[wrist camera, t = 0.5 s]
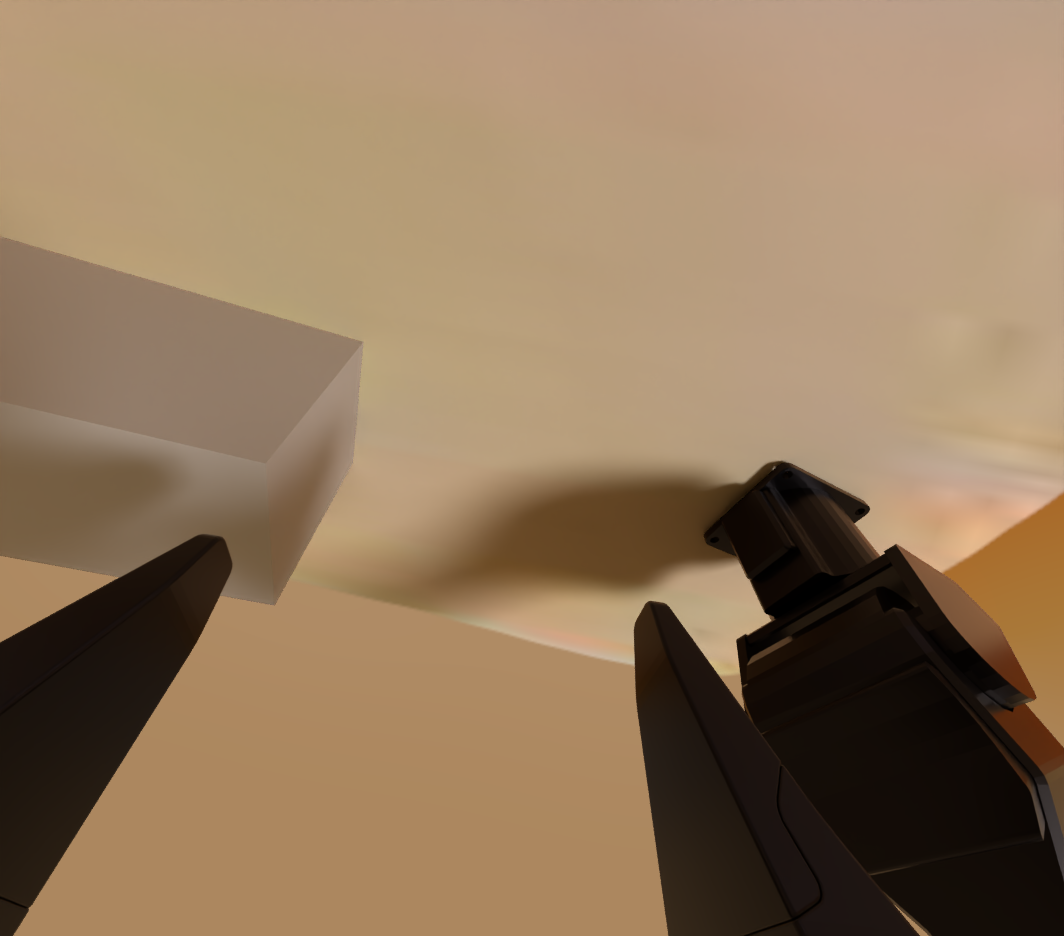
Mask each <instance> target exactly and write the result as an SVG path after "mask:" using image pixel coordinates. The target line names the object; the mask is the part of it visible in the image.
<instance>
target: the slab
mask: <svg viewBox="0 0 1064 936" xmlns="http://www.w3.org/2000/svg"><path fill="white" fill-rule="evenodd" d="M362 353H363V342H362V341H358V340H355V339H351V338H348V337H344V336H341V335H337V334H334V333H331V332H327V331H324V330H320V329H317V328H313V327H310V326H306V325H303V324H300V323H296V322H293V321H289V320H286V319H282V318H279V317H275V316H272V315H269V314H265V313H262V312H258V311H255V310H251V309H248V308H244V307H241V306H238V305H234V304H231V303H227V302H224V301H220V300H217V299H213V298H210V297H207V296H203V295H200V294H196V293H193V292H189V291H186V290H182V289H179V288H176V287H172V286H169V285H165V284H162V283H158V282H155V281H151V280H148V279H144V278H141V277H138V276H134V275H131V274H127V273H124V272H120V271H117V270H113V269H110V268H107V267H103V266H100V265H96V264H93V263H89V262H86V261H82V260H79V259H76V258H72V257H69V256H65V255H62V254H58V253H55V252H51V251H48V250H45V249H41V248H38V247H34V246H31V245H27V244H24V243H20V242H17V241H14V240H10V239H7V238H3V237H0V556H5V557H10V558H16V559H21V560H27V561H33V562H38V563H44V564H49V565H55V566H60V567H66V568H71V569H77V570H82V571H88V572H93V573H99V574H105V575H110V576H115V577H121V576H123V575H125V574H127V573H129V572H130V571H132V570H134V569H136V568H138V567H140V566H141V565H143V564H145V563H147V562H149V561H151V560H152V559H154V558H156V557H158V556H160V555H162V554H163V553H165V552H167V551H169V550H171V549H173V548H174V547H176V546H178V545H180V544H182V543H184V542H185V541H187V540H189V539H191V538H193V537H195V536H197V535H199V534H210V535H217V536H221V537H223V538H224V539H225V541H226V543H227V547H228V550H229V553H230V556H231V559H232V563H233V566H232V571H231V574H230V576H229V578H228V580H227V582H226V584H225V586H224V588H223V590H222V592H221V594H220V596H226V597H231V598H237V599H242V600H248V601H254V602H259V603H265V604H270V605H275V604H276V602H277V600H278V598H279V597H280V595H281V593H282V591H283V589H284V587H285V586H286V584H287V582H288V580H289V578H290V576H291V575H292V573H293V571H294V569H295V567H296V566H297V564H298V562H299V560H300V558H301V556H302V555H303V553H304V551H305V549H306V547H307V545H308V544H309V542H310V540H311V538H312V536H313V535H314V533H315V531H316V529H317V527H318V525H319V524H320V522H321V520H322V518H323V516H324V514H325V513H326V511H327V509H328V507H329V505H330V503H331V502H332V500H333V498H334V496H335V494H336V493H337V491H338V489H339V487H340V485H341V483H342V482H343V480H344V478H345V476H346V474H347V472H348V471H349V469H350V467H351V465H352V463H353V455H354V443H355V432H356V421H357V409H358V398H359V387H360V376H361V364H362Z"/></svg>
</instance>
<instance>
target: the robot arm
mask: <svg viewBox="0 0 1064 936" xmlns="http://www.w3.org/2000/svg"><path fill="white" fill-rule="evenodd" d="M787 471H788V472H787ZM785 472H787V473H785ZM784 473H785V474H784ZM869 511H870V507H869V506H868V505H867V504H866V503H865V502H864V501H863V500H861V499H859V498H857V497H855V496H853V495H851V494H849V493H848V492H846V491H844V490H842V489H840V488H838V487H836V486H834V485H832V484H830V483H828V482H826V481H824V480H822V479H820V478H818V477H817V476H815V475H813V474H811V473H809V472H807V471H805V470H803V469H801V468H799V467H797V466H795V465H793V464H791V463H783V464H780V465H779V466H777V467H776V468H775V469H774V470H773V471H772V472H771V473H770V474H769V475H768V476H766V477H765V478H764V479H763V480H762V481H761V482H760V483H759V484H758V485H757V486H756V487H755V488H753V489H752V490H751V491H750V492H749V493H748V494H747V495H746V496H745V497H744V498H743V499H741V500H740V501H739V502H738V503H737V504H736V505H735V506H734V507H733V508H732V509H731V510H729V511H728V512H727V513H726V514H725V515H724V516H723V517H722V518H721V519H720V520H719V521H717V522H716V523H715V524H714V525H713V526H712V527H711V528H710V529H709V530H708V531H707V532H706V533H705V534H704V538H705V541H706V543H707V544H708V545H710V546H712V547H715V548H717V549H720V550H722V551H724V552H727V553H729V554H732V555H734V556H736V557H737V558H738V560H739V562H740V564H741V566H742V569H743V571H744V573H745V575H746V577H747V578H748V579H749V580H750V582H751V585H752V587H753V589H754V591H755V593H756V595H757V597H758V600H759V602H760V604H761V606H762V608H763V610H764V612H765V613H766V614H768V615H769V617H770V619H771V622H769V623H767V624H765V625H764V626H762V627H760V628H759V629H757V630H755V631H754V632H752V633H750V634H749V635H746V634H745V635H743V636H742V637H740V638H738V639H737V640H736V642H737V650H738V659H739V667H740V675H741V684H742V697H743V700H744V708H745V711H744V710H743V708H742V707H741V706H740V704H739V703H738V701H737V700H736V699H735V697H734V696H733V694H732V693H731V692H730V691H729V689H728V688H727V686H726V685H725V684H724V682H723V681H722V679H721V678H720V676H719V675H718V674H717V672H716V671H715V670H714V668H713V667H712V665H711V664H710V663H709V661H708V660H707V659H706V657H705V656H704V654H703V653H702V652H701V650H700V649H699V647H698V646H697V645H696V643H695V642H694V641H693V639H692V638H691V636H690V635H689V634H688V632H687V631H686V629H685V628H684V627H683V625H682V624H681V623H680V621H679V620H678V618H677V617H676V616H675V614H674V613H673V611H672V610H671V609H670V607H669V606H668V605H667V604H665V603H661V602H655V601H648V602H647V603H646V604H645V606H644V608H643V609H642V611H641V613H640V615H639V616H638V618H637V620H636V622H635V626H634V652H635V682H636V683H635V685H636V703H637V712H638V719H639V726H640V733H641V740H642V748H643V755H644V762H645V770H646V777H647V784H648V791H649V798H650V806H651V813H652V820H653V827H654V835H655V842H656V849H657V857H658V864H659V871H660V878H661V885H662V893H663V899H664V907H665V914H666V922H667V929H668V936H920V935H919V934H918V933H917V932H916V931H915V930H914V928H913V927H912V926H911V925H910V923H909V922H908V921H907V920H906V919H905V918H904V916H903V915H902V914H901V913H900V911H899V910H898V909H897V908H896V907H895V905H896V906H897V907H898V908H899V909H900V910H901V911H902V912H903V913H905V914H906V915H907V916H908V917H909V918H910V919H911V920H913V921H914V922H915V923H916V924H917V925H918V926H919V927H920V928H922V929H923V930H924V931H925V932H926V933H927V934H928V935H929V936H1064V748H1063V746H1062V745H1061V744H1060V743H1059V742H1058V741H1057V740H1056V738H1055V737H1054V736H1053V735H1052V734H1051V733H1050V732H1049V730H1048V729H1047V728H1046V727H1045V726H1044V725H1043V724H1042V722H1041V721H1040V720H1039V719H1038V718H1037V717H1036V716H1035V714H1034V713H1033V712H1032V711H1031V710H1030V709H1029V707H1028V706H1027V705H1026V704H1025V703H1028V702H1031V701H1033V700H1035V699H1036V695H1035V692H1034V690H1033V688H1032V687H1031V685H1030V683H1029V681H1028V679H1027V677H1026V675H1025V673H1024V672H1023V670H1022V668H1021V666H1020V664H1019V662H1018V660H1017V658H1016V657H1015V655H1014V653H1013V651H1012V649H1011V647H1010V645H1009V644H1008V642H1007V640H1006V638H1005V636H1004V634H1003V632H1002V630H1001V629H1000V627H999V626H998V625H997V624H996V623H995V622H994V621H993V619H992V618H990V617H989V615H987V614H986V612H984V611H983V609H981V608H980V606H979V605H978V604H977V603H976V602H975V601H974V600H972V598H970V597H969V595H968V594H966V593H965V591H964V590H963V589H962V588H961V587H959V585H958V584H956V583H955V582H954V581H953V580H951V579H950V578H948V577H947V576H945V575H944V574H942V573H941V572H939V571H937V570H936V569H934V568H933V567H931V566H930V565H928V564H927V563H925V562H924V561H922V560H920V559H919V558H917V557H916V556H914V555H913V554H911V553H910V552H908V551H906V550H905V549H903V548H902V547H900V546H899V545H897V544H895V545H894V546H892V547H890V548H889V549H887V550H885V551H884V552H885V554H883V555H882V556H880V555H879V554H878V553H877V552H876V550H875V549H874V548H873V547H872V545H871V544H870V543H869V542H868V540H867V539H866V538H865V537H864V535H863V534H862V533H861V531H860V530H859V529H858V528H857V526H856V525H855V524H854V523H856V522H857V521H858V520H860V519H861V518H862V517H864V516H865V515H866V514H867V513H868V512H869ZM713 537H714V538H713ZM232 566H233V563H232V559H231V556H230V553H229V550H228V547H227V543H226V541H225V539H224V538H223V537H221V536H217V535H210V534H199V535H197V536H195V537H193V538H191V539H189V540H187V541H185V542H184V543H182V544H180V545H178V546H176V547H174V548H173V549H171V550H169V551H167V552H165V553H163V554H162V555H160V556H158V557H156V558H154V559H152V560H151V561H149V562H147V563H145V564H143V565H141V566H140V567H138V568H136V569H134V570H132V571H130V572H129V573H127V574H125V575H123V576H121V577H119V578H118V579H116V580H114V581H112V582H110V583H109V584H107V585H105V586H103V587H101V588H99V589H97V590H96V591H94V592H92V593H90V594H88V595H86V596H85V597H83V598H81V599H79V600H77V601H76V602H74V603H72V604H70V605H68V606H66V607H64V608H63V609H61V610H59V611H57V612H55V613H53V614H52V615H50V616H48V617H46V618H44V619H42V620H41V621H39V622H37V623H35V624H33V625H31V626H30V627H28V628H26V629H24V630H22V631H20V632H19V633H17V634H15V635H13V636H12V637H10V638H8V639H6V640H4V641H2V642H0V936H13V935H14V933H15V932H16V930H17V929H18V927H19V926H20V924H21V922H22V921H23V919H24V918H25V916H26V914H27V913H28V911H29V909H28V908H29V907H30V906H31V905H32V904H33V903H34V901H35V899H36V898H37V896H38V895H39V893H40V891H41V890H42V888H43V886H44V885H45V883H46V882H47V880H48V879H49V877H50V875H51V874H52V872H53V871H54V869H55V867H56V866H57V864H58V863H59V861H60V860H61V858H62V856H63V855H64V853H65V852H66V850H67V848H68V847H69V845H70V844H71V842H72V840H73V839H74V837H75V836H76V834H77V833H78V831H79V829H80V828H81V826H82V825H83V823H84V821H85V820H86V818H87V817H88V815H89V813H90V812H91V810H92V809H93V807H94V806H95V804H96V802H97V801H98V799H99V797H100V796H101V794H102V793H103V791H104V789H105V788H106V786H107V785H108V783H109V782H110V780H111V778H112V777H113V775H114V774H115V772H116V770H117V769H118V767H119V766H120V764H121V763H122V761H123V759H124V758H125V756H126V755H127V753H128V751H129V750H130V748H131V747H132V745H133V743H134V742H135V740H136V739H137V737H138V735H139V734H140V732H141V731H142V729H143V727H144V726H145V724H146V723H147V721H148V719H149V718H150V716H151V715H152V713H153V712H154V710H155V708H156V707H157V705H158V704H159V702H160V700H161V699H162V697H163V696H164V694H165V693H166V691H167V689H168V687H169V686H170V684H171V683H172V681H173V680H174V678H175V677H176V675H177V673H178V672H179V670H180V669H181V667H182V665H183V664H184V662H185V661H186V659H187V658H188V656H189V654H190V653H191V651H192V649H193V648H194V646H195V644H196V643H197V641H198V639H199V637H200V635H201V633H202V631H203V629H204V627H205V625H206V623H207V621H208V619H209V617H210V615H211V613H212V611H213V609H214V607H215V604H216V603H217V601H218V598H219V596H220V594H221V592H222V590H223V588H224V586H225V584H226V582H227V580H228V578H229V576H230V574H231V571H232Z"/></svg>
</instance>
